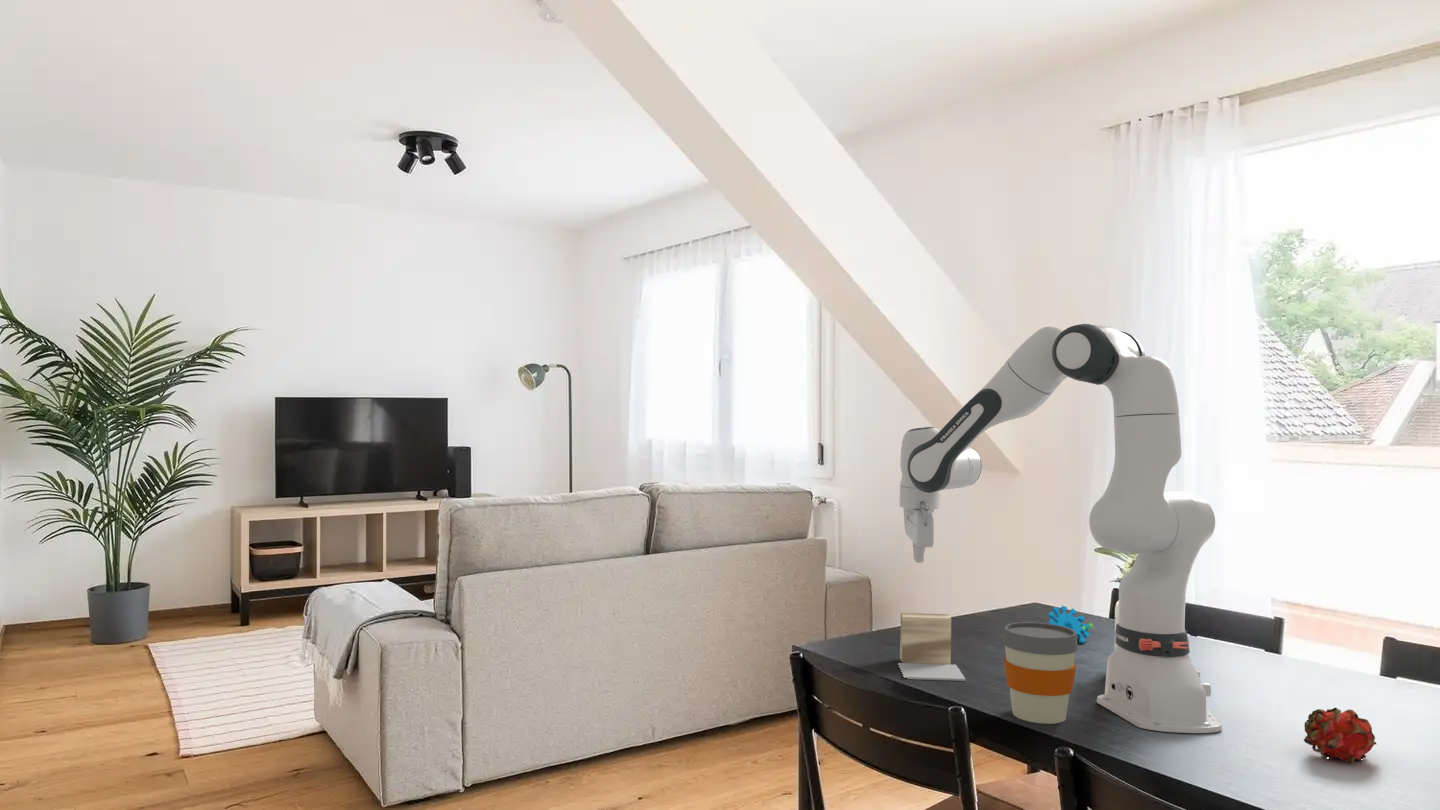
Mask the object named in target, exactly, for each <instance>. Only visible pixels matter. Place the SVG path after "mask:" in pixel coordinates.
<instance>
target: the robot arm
mask: <svg viewBox="0 0 1440 810" xmlns="http://www.w3.org/2000/svg"><path fill="white" fill-rule="evenodd" d="M1067 378H1071V379H1072V380H1075V381H1079V382H1085V383H1088V384H1093V385H1097V386H1100V385H1102V386H1103V385H1104V386H1106V388H1107V389H1108V390H1109V392H1110V394H1111V398H1112V403H1113V405H1112V406H1113V417H1114V418H1113V423H1114V426H1113V427H1114V428H1113V429H1114V462H1113V468H1112V473H1111V477H1110V478H1109V482H1108V485H1107V487H1106V489H1105V491H1104V493H1103V495H1102V496H1101V497H1100V498H1099V500H1097V502H1095V503H1094V505H1093V506H1092V508H1091V510H1090V513H1089V521H1088V522H1089V528H1090V529H1089V531H1090V533H1091V535H1092V538H1093V539H1094V541H1095V542H1096V543H1097V544H1098V545H1099V546H1100V547H1102V548H1104V549H1105V550H1108V551H1113V552H1117V553H1124V554H1129V555H1130V554H1131V555H1132V554H1137V555H1136V557H1135V561H1134V563H1133V565H1132V567H1131V568H1130V570H1129V571H1128V572H1127V573H1125V575H1124V576H1123V577H1122V579H1121V580H1120V582H1119V584H1118V622H1117V623H1116V626H1115V631H1114V636H1115V644H1116V647H1115V650H1114V651H1113V652H1112V653H1110V655H1109V656H1108V657H1107V662H1106V674H1105V685H1104V686H1105V687H1104V694H1100V695H1098V696H1097V697H1096V703H1097V704H1099V705H1101V706H1102V707H1103V708H1105V709H1107V710H1109V711H1110V712H1112V713H1114V714H1116V715H1117V716H1118V717H1121V718H1122V719H1124V720H1126V721H1127V722H1130V724H1132V725H1134V726H1136V727H1138V728H1140V729H1145V730H1151V731H1156V732H1164V733H1165V732H1166V733H1178V734H1179V733H1182V734H1211V733H1218V732H1222V731H1223V727H1222V724H1221V723H1220V720H1218V718H1217V717H1216V716H1215V714H1213V712H1212V711H1211V710H1210V708H1209V707H1208V705H1207V698H1208V697H1211V694H1212V689H1211V685H1210V683H1208V682H1202V680H1201V672H1200V671H1199V670H1196V668H1195V666H1194V664H1193V663H1192V660H1191V657H1190V655H1189V653H1190V652H1191V651H1190V645H1189V644H1190V641H1189V637H1188V632H1187V630H1186V629H1185V627H1186V626H1185V622H1186V621H1185V620H1186V618H1185V617H1186V598H1187V595H1186V594H1187V587H1188V583H1189V578H1190V574H1191V572H1192V569H1193V566H1194V564H1195V560H1196V558H1197V556H1198V554H1199V552H1200V550H1201V549H1202V547H1203V546H1204V544H1206V543H1207V542H1208V540H1209V539H1210V538H1211V537H1212V535H1213V534H1214V531H1215V528H1216V517H1215V512H1214V511H1213V508H1212V506H1211V505H1210V504H1209V503H1208V501H1207V500H1206V499H1204V498H1202V497H1201V496H1199V495H1196V494H1193V493H1189V492H1185V491H1181V490H1167V491H1166V490H1165V488H1166V484H1167V479H1168V477H1169V474H1170V472H1171V470H1172V468H1174V467H1175V466H1176V465H1177V464H1178V463H1179V462H1180V460H1181V458H1182V438H1181V423H1180V422H1181V421H1180V411H1179V410H1180V409H1179V400H1178V393H1177V389H1176V385H1175V380H1174V376H1173V373H1172V369H1171V367H1170V366H1169V364H1168V363H1167V362H1166V361H1165V360H1162V359H1161V358H1160V357H1159V358H1158V357H1155V356H1148V355H1146V354H1145V349H1144V347H1143V345H1142V343H1141V342H1140V341H1139V340H1138V339H1137V338H1136V337H1135V336H1133V335H1132V334H1130V333H1127V332H1125V331H1121V330H1118V329H1114V328H1112V327H1110V326H1106V325H1100V324H1099V325H1098V324H1091V323H1090V324H1089V323H1080V324H1075V325H1072V326H1069V327H1067V328H1065V329H1064V330H1062V329H1061V328H1057V327H1053V326H1044V327H1041V328H1039V329H1038V330H1037V331H1036V332H1034V333H1032V334H1031V335H1030V336H1029V337H1028V338H1026V339H1025V341H1024V342H1022V344H1021V345H1020V346H1018V348H1017V349H1016V350H1015V351H1014V352H1013V353H1012V354H1011V355H1010V357H1009V358H1008V359H1006V362H1005V363H1004V364H1003V365H1002V366H1001V367H1000V368H999V370H998V371H997V372H996V373H995V374H994V375H993V377H992V378H990V380H989V381H988V382H987V383H986V384H985V385H984V386H983V387H981V389H979V390H978V392H977V393H975V395H974V396H973V397H972V398H970V399H969V401H967V403H965V405H964V406H962V408H960V409H959V411H957V412H956V414H954V416H953V417H952V418H951V419H950V420H949V421H948V422H947V423H946V424H945V425H944V427H942V428H941V430H940V429H939V428H937V427H934V426H926V427H917V428H911V429H909V430H907V431H906V432H905V433H904V435H903V438H902V441H901V448H900V449H901V450H900V464H899V467H900V471H901V479H900V481H899V482H900V483H899V507H900V508H902V509H903V521H904V531H905V534H906V535H907V537H908V538H909V539H910V540H911V541H912V548H913V560H914V561H915V562H916V563H918V564H919V563H920V564H922V563H924V554H925V550H926V548H933V547H934V542H935V536H934V535H935V529H934V528H935V523H934V522H935V521H934V516H935V510H938V509H940V508H941V491H942V490H943V491H944V490H953V489H960V488H965V487H966V488H967V487H969V486H972V485H974V484H975V483H976V482H977V481H978V479H979V478H980V476H981V473H982V469H983V465H982V460H981V457H980V455H979V452H977V450H976V449H975V448H974V447H972V446H971V445H972V444H973V443H974V442H975V441H976V439H978V438H979V436H980V435H982V434H983V433H984V432H985V431H987V430H988V429H990V428H993V427H994V426H997V425H1000V424H1002V423H1005V422H1009V421H1011V420H1012V421H1013V420H1016V419H1020V418H1023V417H1027V416H1029V415H1030V414H1031V413H1033V412H1034V411H1036V410H1038V408H1039V407H1041V406H1042V405H1043V404H1044V403H1045V402H1046V401H1047V400H1048V399H1049V398H1050V397H1051V395H1052V394H1053V393H1054V392H1055V391H1056V389H1057V388H1058V387H1059V386H1060V385H1061V384H1062V383H1063V381H1065V380H1066V379H1067Z"/></svg>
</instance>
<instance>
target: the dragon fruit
mask: <svg viewBox="0 0 1440 810" xmlns="http://www.w3.org/2000/svg"><path fill="white" fill-rule="evenodd" d="M1307 717H1308V719H1307V720H1306V721H1305V722H1304V725H1303V726H1304V732H1305V733H1306V736H1304V738H1303V742H1304V743H1306V744H1308V745H1309V746H1312V747H1311V748H1312V751H1313V752H1316V753H1320V754H1321V755H1322V756H1323V757H1324V758H1325V759H1326V758H1327V757H1329V759H1331V760H1332V759H1333V758H1335V757H1337V758H1339V759H1340V760H1341V761H1343V762H1348V763H1349V764H1352V763H1355V760H1356V759H1357V760H1356V761H1358V760H1361V759H1363V758H1364V759H1365V758H1367V755H1366V754H1367V753H1369V752H1370V751H1371V750H1372V748H1373V747H1374V746H1375V745H1377V742H1376V741H1375V740H1376V737H1375V736H1376V735H1374V733H1373V731H1372V730H1373V727H1372V725H1371V723H1370V721H1369V720H1368V719H1366V718H1361V717H1359V715H1358V713H1357V712H1355V711H1354V710H1353V709H1347V710H1346V709H1345V711H1342V710H1340V708H1338V707H1333V708H1329V709H1328V708H1327V710H1324V709H1321V708H1317V709H1315V710H1313V711H1312V712H1311V713H1310V714H1309V715H1307ZM1364 759H1363V760H1364Z"/></svg>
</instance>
